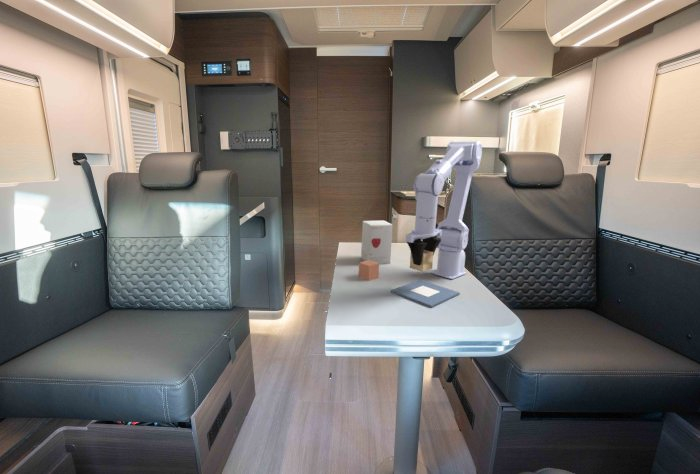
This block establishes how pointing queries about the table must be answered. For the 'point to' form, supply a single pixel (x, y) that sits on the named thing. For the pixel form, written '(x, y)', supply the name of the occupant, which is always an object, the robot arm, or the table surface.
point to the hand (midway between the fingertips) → (422, 262)
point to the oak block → (423, 261)
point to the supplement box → (376, 241)
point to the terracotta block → (368, 270)
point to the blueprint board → (425, 293)
